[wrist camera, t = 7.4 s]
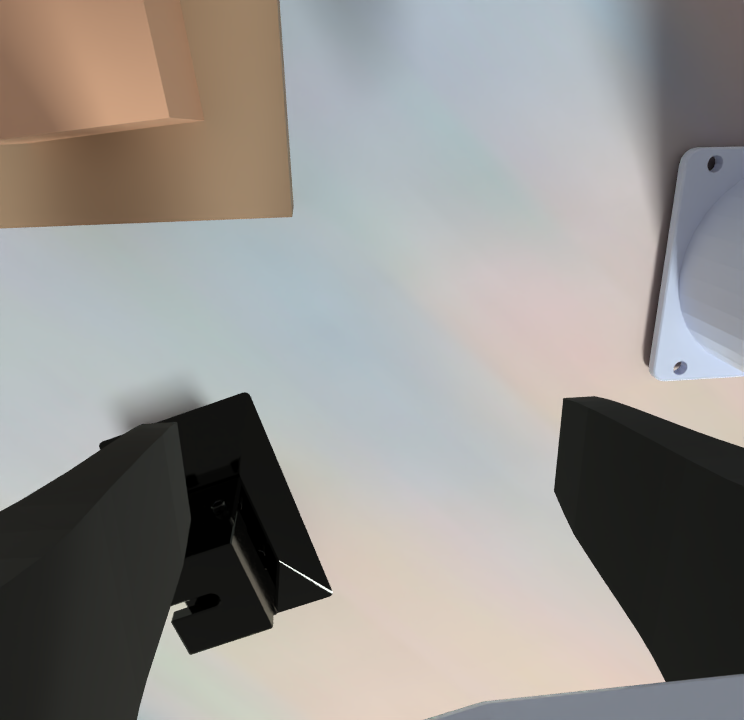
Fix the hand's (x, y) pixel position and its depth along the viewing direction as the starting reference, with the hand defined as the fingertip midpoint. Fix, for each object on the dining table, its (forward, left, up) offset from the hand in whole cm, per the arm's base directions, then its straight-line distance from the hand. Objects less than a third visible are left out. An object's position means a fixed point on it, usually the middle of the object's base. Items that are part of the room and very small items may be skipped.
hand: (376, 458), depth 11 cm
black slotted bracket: (+5, +8, -11) cm, 14 cm away
